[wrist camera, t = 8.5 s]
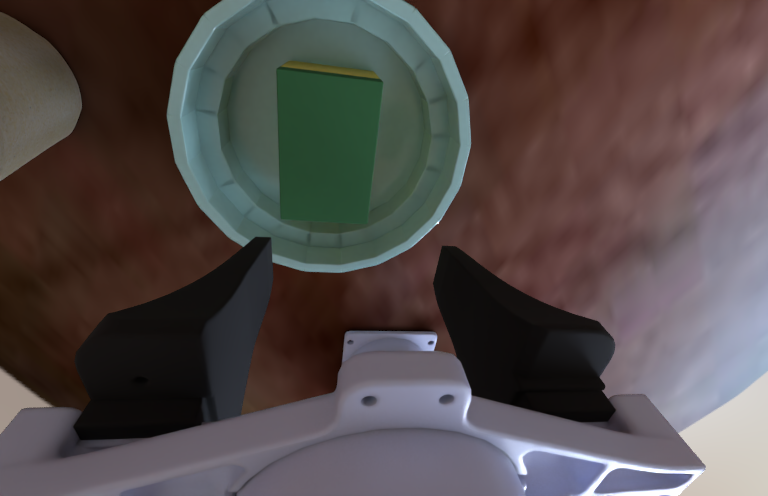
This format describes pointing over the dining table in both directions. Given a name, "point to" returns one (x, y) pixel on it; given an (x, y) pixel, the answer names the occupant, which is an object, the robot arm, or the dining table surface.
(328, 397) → the robot arm
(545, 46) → the dining table surface
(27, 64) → the flower pot
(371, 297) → the dining table surface
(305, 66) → the sponge
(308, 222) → the bowl
